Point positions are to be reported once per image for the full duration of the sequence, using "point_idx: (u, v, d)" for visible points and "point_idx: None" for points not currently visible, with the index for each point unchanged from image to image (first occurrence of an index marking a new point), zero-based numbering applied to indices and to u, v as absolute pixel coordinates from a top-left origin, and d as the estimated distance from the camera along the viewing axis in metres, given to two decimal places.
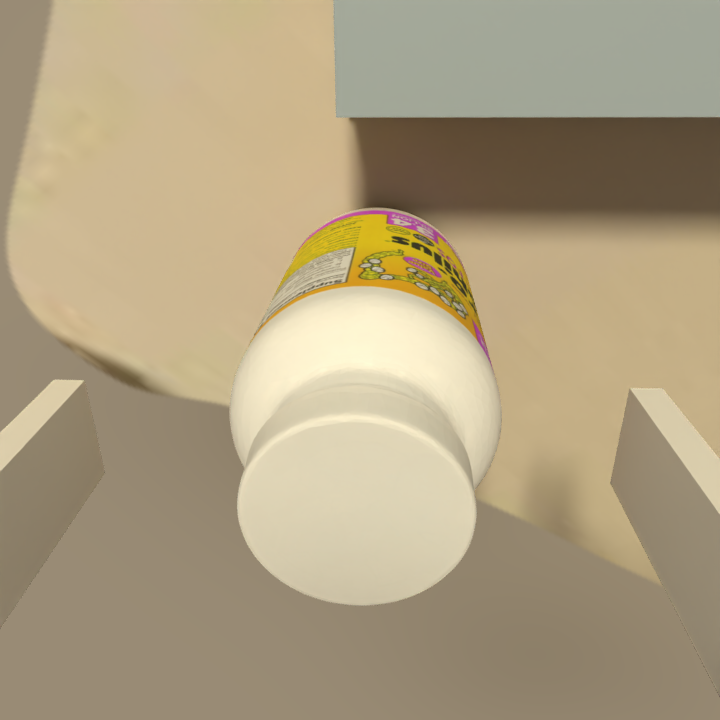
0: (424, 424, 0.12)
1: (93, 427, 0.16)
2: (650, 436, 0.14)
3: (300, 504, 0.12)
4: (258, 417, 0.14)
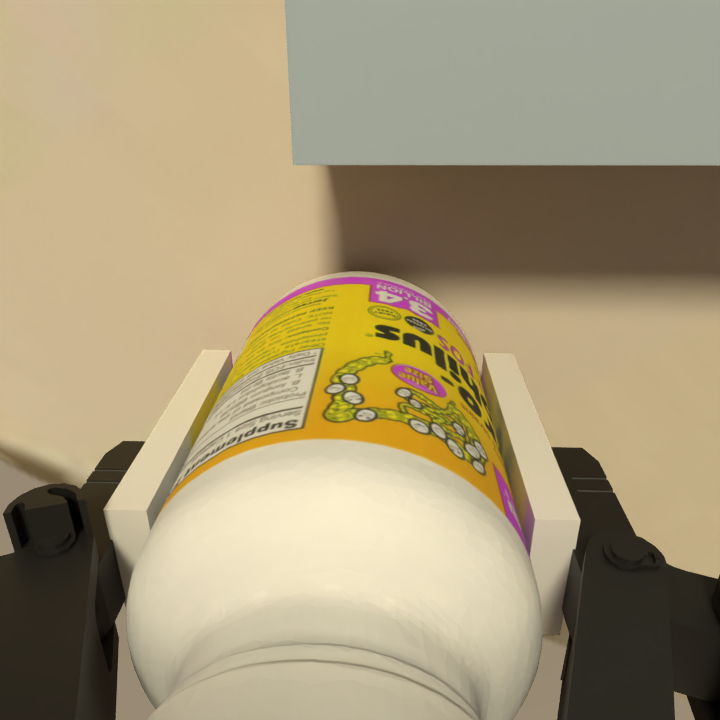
0: None
1: None
2: (490, 393, 0.15)
3: None
4: (161, 653, 0.09)
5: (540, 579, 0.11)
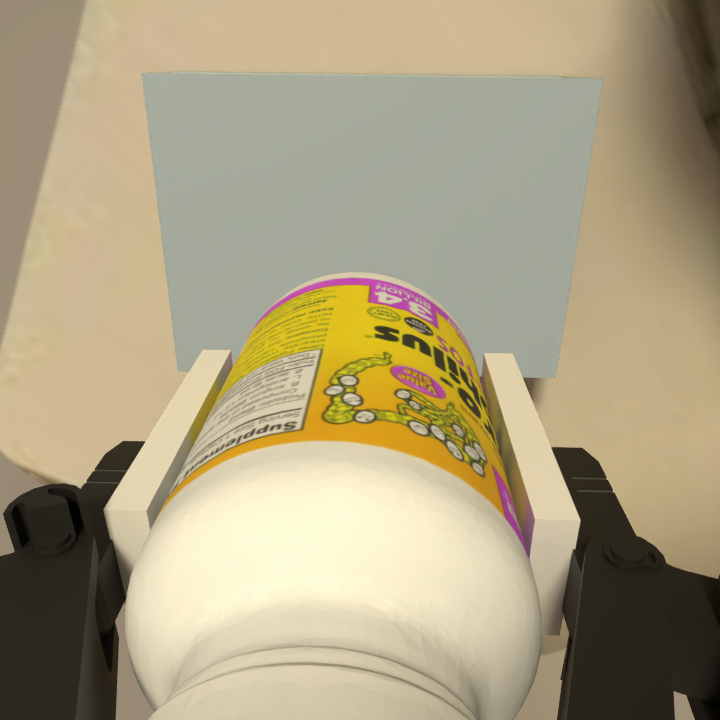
0: None
1: None
2: (490, 393, 0.15)
3: None
4: (160, 655, 0.09)
5: (540, 579, 0.11)
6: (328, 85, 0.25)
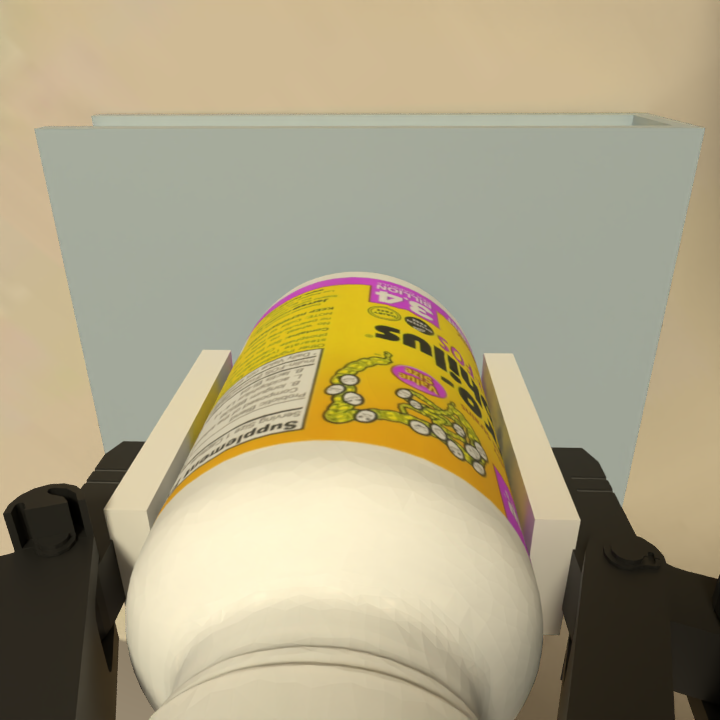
0: None
1: None
2: (490, 393, 0.15)
3: None
4: (161, 655, 0.09)
5: (540, 579, 0.11)
6: (300, 142, 0.17)
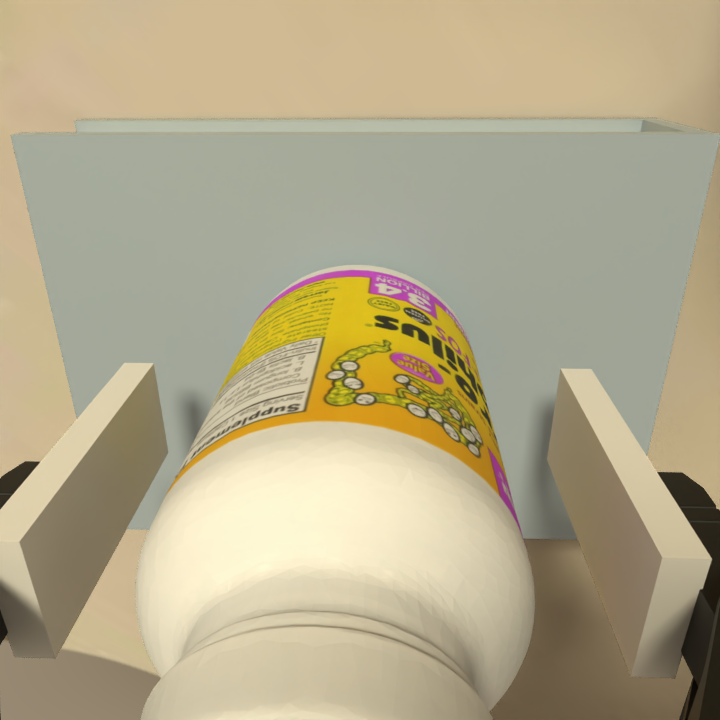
0: (424, 710, 0.07)
1: (159, 408, 0.17)
2: (573, 412, 0.14)
3: None
4: (170, 625, 0.09)
5: (661, 620, 0.10)
6: (292, 149, 0.16)
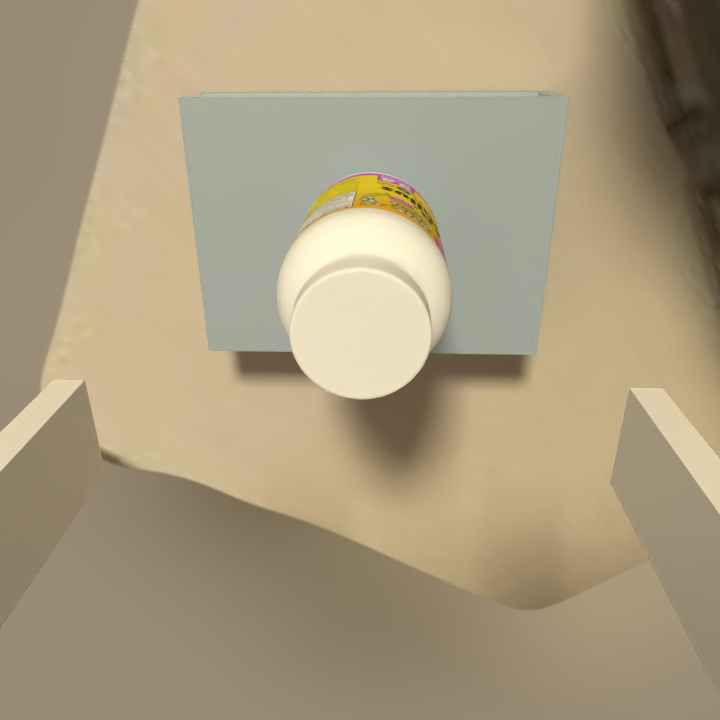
0: (400, 276, 0.20)
1: (93, 427, 0.16)
2: (649, 436, 0.14)
3: (327, 328, 0.20)
4: (297, 290, 0.23)
5: None
6: (335, 105, 0.29)
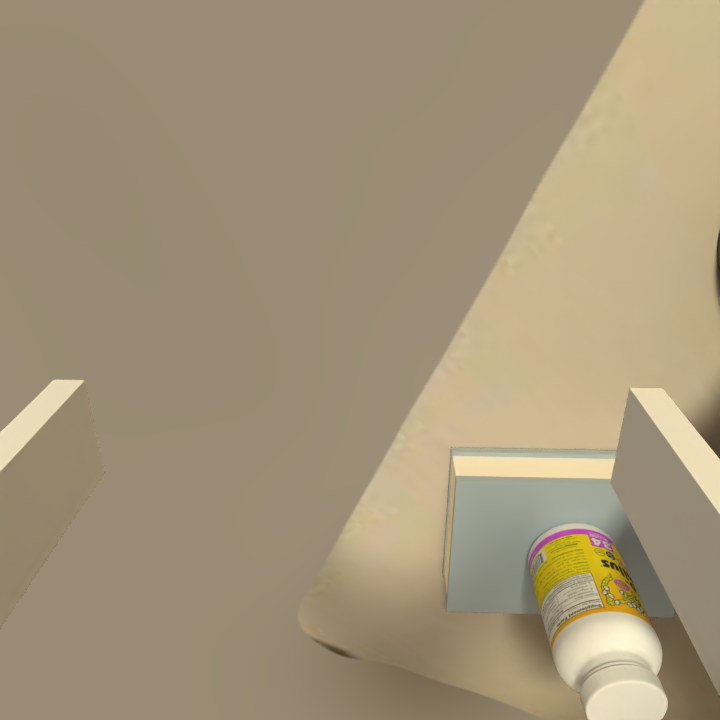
0: (653, 680, 0.36)
1: (93, 427, 0.16)
2: (649, 436, 0.14)
3: (609, 704, 0.37)
4: (576, 662, 0.39)
5: None
6: (558, 486, 0.46)
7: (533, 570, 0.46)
